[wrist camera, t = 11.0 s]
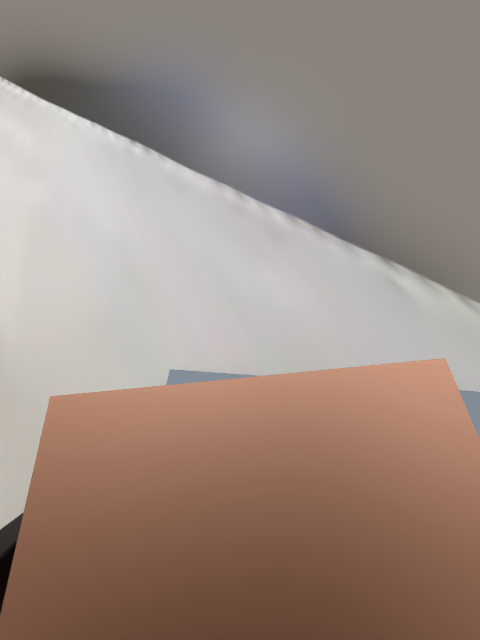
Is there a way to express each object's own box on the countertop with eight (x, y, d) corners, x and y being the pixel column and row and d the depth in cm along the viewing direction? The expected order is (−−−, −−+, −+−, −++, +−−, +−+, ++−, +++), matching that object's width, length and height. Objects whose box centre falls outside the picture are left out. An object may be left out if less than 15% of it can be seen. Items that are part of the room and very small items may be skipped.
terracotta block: (335, 593, 13) (891, 1394, 1) (213, 602, 13) (-181, 1401, 2) (312, 459, 15) (445, 358, 4) (210, 468, 15) (50, 396, 4)
